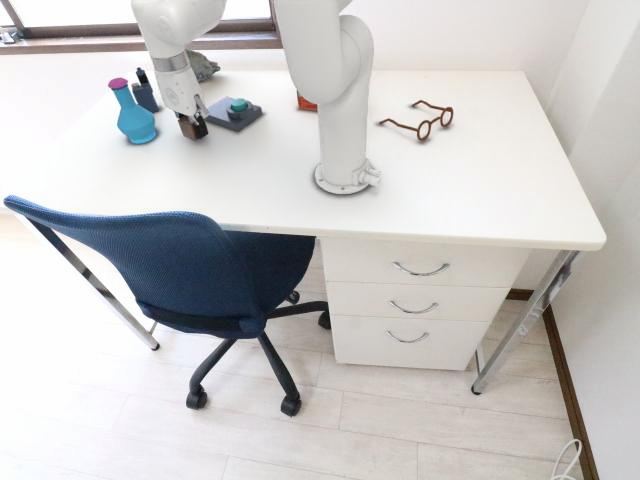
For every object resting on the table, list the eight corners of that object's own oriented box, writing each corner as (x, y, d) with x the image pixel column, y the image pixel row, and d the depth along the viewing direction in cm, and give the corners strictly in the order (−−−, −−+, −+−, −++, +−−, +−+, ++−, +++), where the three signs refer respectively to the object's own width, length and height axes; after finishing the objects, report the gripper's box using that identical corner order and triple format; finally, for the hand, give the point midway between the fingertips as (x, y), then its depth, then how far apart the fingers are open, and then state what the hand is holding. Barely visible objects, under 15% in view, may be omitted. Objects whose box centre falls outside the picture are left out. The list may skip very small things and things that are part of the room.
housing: (263, 114, 103) (261, 101, 100) (239, 132, 97) (236, 118, 94) (228, 103, 108) (224, 90, 105) (203, 119, 103) (199, 106, 100)
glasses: (418, 145, 89) (421, 126, 85) (378, 124, 96) (379, 106, 92) (452, 124, 94) (457, 105, 90) (413, 105, 101) (415, 87, 97)
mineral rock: (223, 74, 121) (215, 41, 114) (211, 90, 114) (202, 56, 107) (187, 73, 123) (176, 41, 116) (173, 88, 116) (161, 55, 109)
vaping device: (160, 110, 107) (143, 69, 99) (142, 115, 106) (123, 73, 97) (160, 106, 109) (143, 65, 100) (141, 111, 108) (122, 69, 99)
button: (250, 106, 99) (248, 100, 98) (240, 113, 97) (238, 107, 95) (239, 102, 101) (237, 96, 99) (228, 109, 98) (227, 103, 97)
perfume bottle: (150, 147, 95) (123, 91, 84) (118, 145, 97) (88, 89, 86) (166, 127, 101) (144, 72, 90) (136, 125, 103) (110, 71, 91)
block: (208, 132, 95) (203, 116, 91) (195, 141, 92) (190, 125, 89) (196, 127, 97) (190, 111, 93) (183, 136, 94) (177, 120, 91)
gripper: (132, 59, 82) (162, 131, 96) (184, 75, 75) (209, 151, 89) (158, 46, 86) (184, 118, 100) (210, 61, 79) (230, 135, 93)
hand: (195, 133), depth 94 cm, fingers closed on block, 4 cm apart
